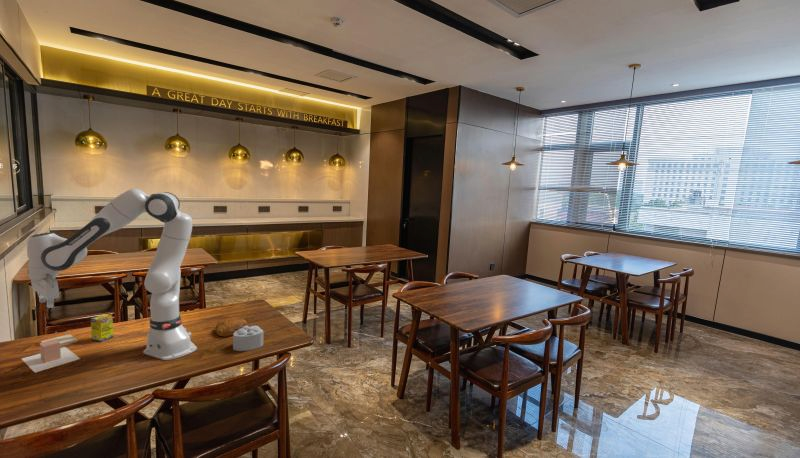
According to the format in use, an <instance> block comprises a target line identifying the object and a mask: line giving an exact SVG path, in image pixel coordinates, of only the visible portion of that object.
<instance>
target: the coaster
mask: <svg viewBox="0 0 800 458" xmlns="http://www.w3.org/2000/svg"><path fill="white" fill-rule="evenodd" d="M55 339H56V340H57V341H58V342H60V347H64V346H67V345H69V344H73V343H77V342H78V339H77V338H76V337H74V336H73V334H70V333H68V334H64V335H60V336H57V337H54V338H48V339H44V340H42V341H40V343H43V342H47V341H51V340H55Z"/></svg>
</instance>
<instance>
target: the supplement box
mask: <svg viewBox="0 0 800 458" xmlns="http://www.w3.org/2000/svg"><path fill="white" fill-rule="evenodd" d="M113 320H114V319H113V315H111V314H109V315H108V314H104V313H103V314H101V315H98V316H95V317H91V318H90V331H91V341H94V342H98V343H99V342H100V343H102V342H105V341H107V340H111V339H112V338H114V321H113Z"/></svg>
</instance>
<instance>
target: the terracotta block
mask: <svg viewBox="0 0 800 458" xmlns="http://www.w3.org/2000/svg"><path fill="white" fill-rule="evenodd" d="M60 348H61V346H60V342H58V341H57V340H56V339H55V340H51V341H47V342H43V343H41V342H40V343H39V350H40V352H39V354H41V360H42V361H44V362H45V363H46V362H50V361H53V360H56V359H60V358H61V352H60Z"/></svg>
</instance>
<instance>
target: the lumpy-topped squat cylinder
mask: <svg viewBox="0 0 800 458" xmlns="http://www.w3.org/2000/svg"><path fill="white" fill-rule="evenodd" d="M263 345H264V329H262V328H260V326H258V325H251V326H248V325H247V326H243V327H242V328H241V329H239V330H237V331H236V332H234V334H233V335H232V350H233V351H237V352H248V351H252V350H255V349H259V348H261V347H263Z"/></svg>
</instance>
